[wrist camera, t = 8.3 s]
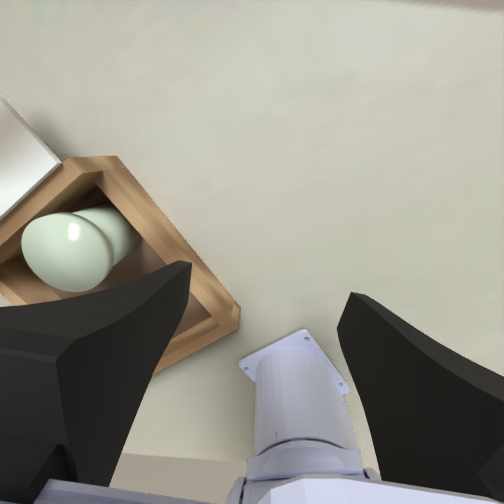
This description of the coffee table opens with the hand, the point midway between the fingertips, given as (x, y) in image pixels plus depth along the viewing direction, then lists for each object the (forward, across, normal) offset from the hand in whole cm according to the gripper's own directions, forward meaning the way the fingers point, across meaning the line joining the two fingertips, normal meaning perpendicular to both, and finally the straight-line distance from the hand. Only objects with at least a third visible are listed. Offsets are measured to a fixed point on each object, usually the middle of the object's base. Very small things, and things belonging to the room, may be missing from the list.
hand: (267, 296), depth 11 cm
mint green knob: (+9, +12, +2) cm, 15 cm away
